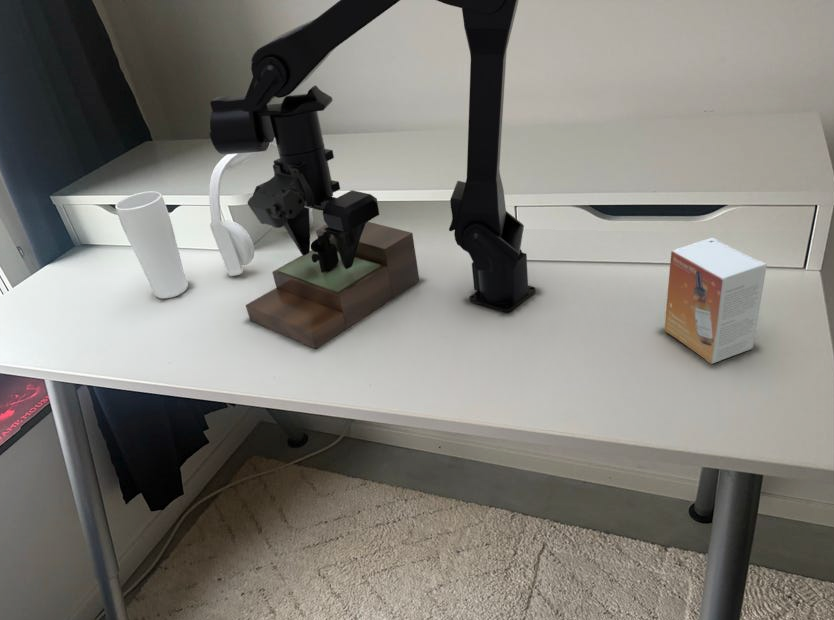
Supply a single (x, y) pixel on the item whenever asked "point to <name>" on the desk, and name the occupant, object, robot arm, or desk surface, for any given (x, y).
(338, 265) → the step shelf
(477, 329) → the desk surface
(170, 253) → the drinking glass
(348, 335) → the desk surface
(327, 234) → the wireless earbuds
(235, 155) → the headset
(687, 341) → the small box
